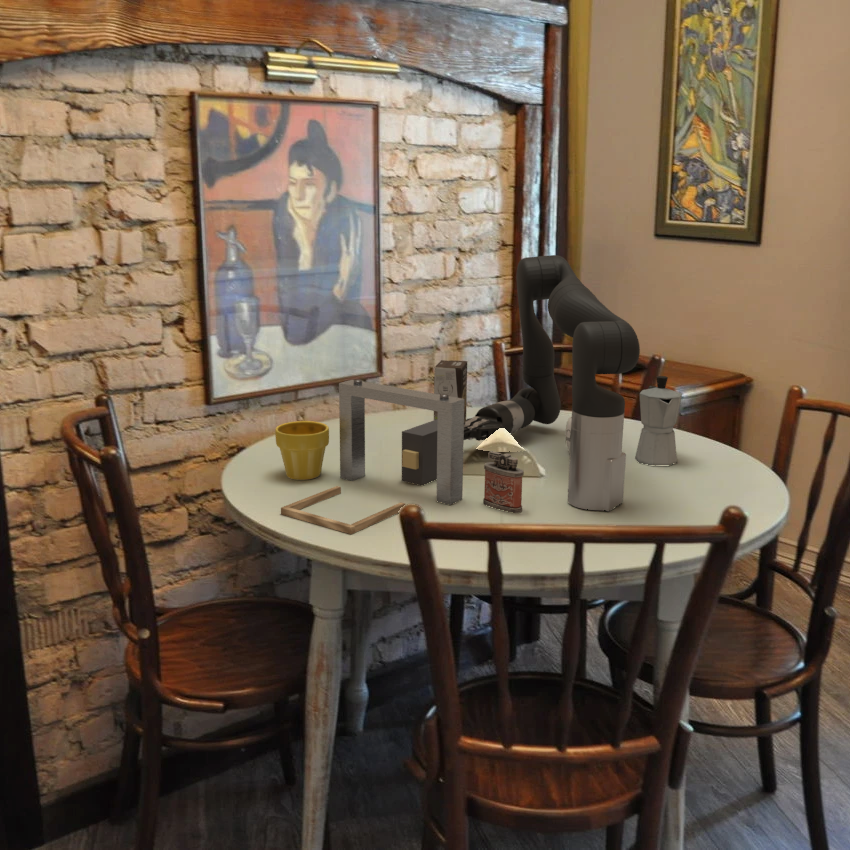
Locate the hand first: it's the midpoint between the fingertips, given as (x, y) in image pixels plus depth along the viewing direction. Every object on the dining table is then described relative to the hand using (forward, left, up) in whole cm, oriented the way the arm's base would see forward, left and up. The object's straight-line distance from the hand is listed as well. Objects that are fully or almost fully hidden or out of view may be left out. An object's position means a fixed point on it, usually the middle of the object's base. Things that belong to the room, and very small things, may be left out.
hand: (454, 437), depth 199 cm
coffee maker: (-31, -30, -6) cm, 43 cm away
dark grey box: (0, +8, -6) cm, 10 cm away
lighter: (-21, +16, -6) cm, 27 cm away
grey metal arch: (0, +18, -6) cm, 19 cm away
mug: (-19, -22, -6) cm, 30 cm away
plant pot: (+20, +24, -6) cm, 32 cm away
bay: (0, +34, -6) cm, 35 cm away
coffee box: (+15, -20, -6) cm, 26 cm away
